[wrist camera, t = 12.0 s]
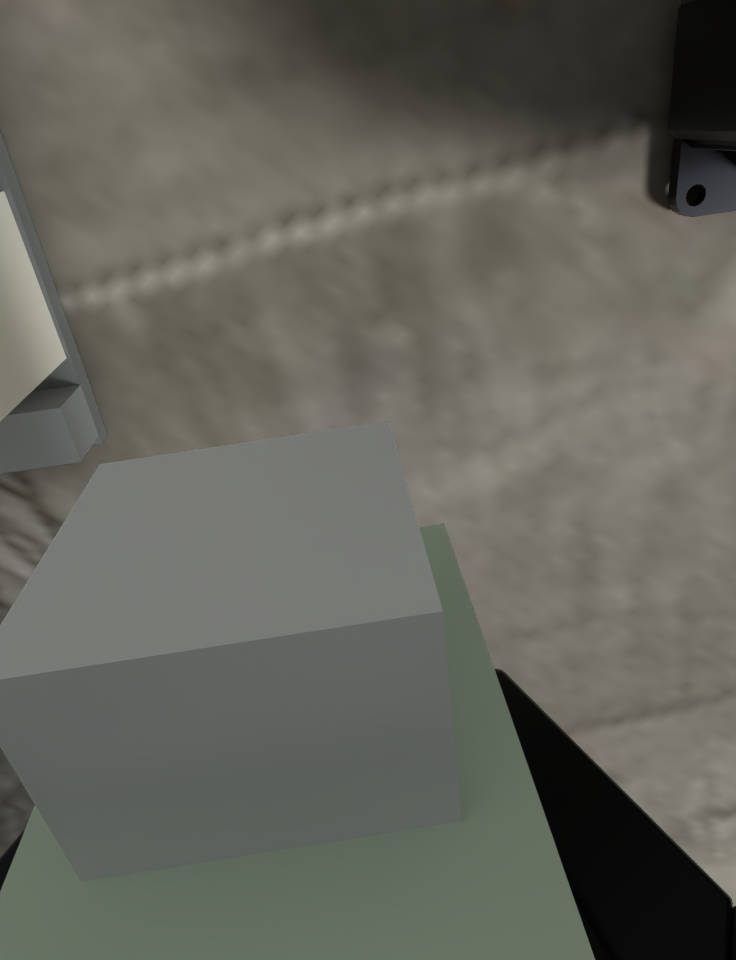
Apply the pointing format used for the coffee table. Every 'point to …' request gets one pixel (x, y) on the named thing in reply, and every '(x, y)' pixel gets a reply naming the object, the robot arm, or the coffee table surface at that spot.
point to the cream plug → (22, 320)
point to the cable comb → (61, 395)
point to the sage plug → (267, 725)
